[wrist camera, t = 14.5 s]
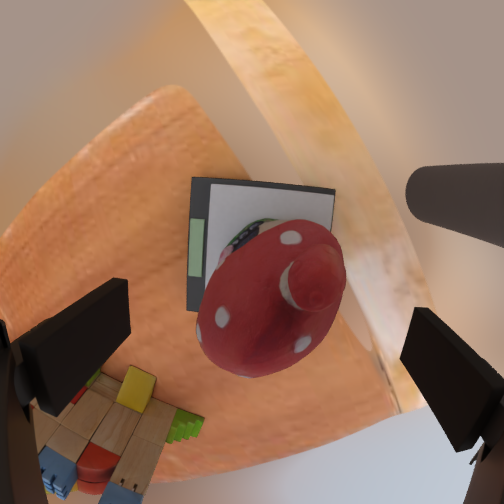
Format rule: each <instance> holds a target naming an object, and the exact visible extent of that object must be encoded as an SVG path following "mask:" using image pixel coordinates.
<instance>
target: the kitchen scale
mask: <svg viewBox="0 0 504 504" xmlns="http://www.w3.org/2000/svg"><path fill="white" fill-rule="evenodd" d="M335 192H336V190H335V189H328V188H319V187H311V186H302V185H293V184H283V183H273V182H262V181H250V180H237V179H222V178H206V177H192V182H191V197H190V214H189V234H188V259H187V309H186V310H187V311H194V312H199V308H200V305H201V302H202V299H203V296H204V292H205V289H206V287H207V284H208V282H209V279H210V277H211V276H212V274H213V272H214V270H215V269H216V267H217V266H218V261H219V257H220V254H221V252H222V250H223V249H224V248H225V247H226V246H227V245H228V243H229V242H230V241H231V240H232V239H233V238H234V237H235V236H236V235H237V234H238V233H239V232H240V231H241V230H242V229H244V228H245V227H246V226H247V225H248V224H250V223H252V222H254V221H256V220H260V219H264V218H271V219H278V220H289V221H290V220H295V219H305V220H309V221H312V222H315V223H317V224H320V225H322V226H324V227H325V228H326V229H328V230H329V231H330V232H331V228H332V219H333V210H334V201H335Z"/></svg>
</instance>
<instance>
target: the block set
mask: <svg viewBox="0 0 504 504" xmlns="http://www.w3.org/2000/svg"><path fill="white" fill-rule="evenodd" d="M100 369H101V367H100V368H99V369H98V371H97V372H96V373H95V374H94V375H93V376H92V377H91V379H90V380H89V381H88V382H87V383H86V384H85V385H84V387H83V388H82V389H81V390H80V391H79V392H78V393H77V395H76V396H75V397H74V398H73V399H72V400H71V402H70V403H69V404H68V405H67V406H66V407H65V409H64V410H63V411H62V412H61V413H60V414H59V416H58V417H57V418H56V417H54V416H52V415H50V414H48V413H45V412H43V411H41V410H40V408H39V405H38V403H37V400H36V397H35V398H34V399H33V400H32V401H31V402H30V405H31V407H32V410H33V420H34V429H35V438H36V445H37V452H38V458H39V464H40V469H41V474H42V479H43V483H44V488H45V492H46V494H54V493H56V494H57V497H59V498H60V499H62V500H65V499H66V497H67V496H68V494H69V493H70V492H73V491H77V490H79V491H80V492H83V493H86V494H92V495H97V494H102V497H101V499H100V501H99V503H98V504H142V501H143V498H144V495H145V494H146V491H147V489H148V486H149V483H150V481H151V478H152V475H153V473H154V470H155V467H156V465H157V462H158V459H159V457H160V454H161V452H162V449H163V447H164V444H165V442H167V443H169V444H172V443H173V440H176V441H178V442H180V441H181V439H182V438H184V439H187V440H188V439H189V437H190V436H192V437H197V436H198V434H199V431H200V429H201V427H202V424H203V422H204V418H203V417H200V416H197V415H194V414H192V413H189V412H186V411H183V410H181V409H177V408H176V407H174V406H172V405H169V404H167V403H164V402H162V401H159V400H157V399H155V398H152V397H151V395H152V392H153V388H154V384H155V381H156V377H155V376H153V375H151V374H148V373H146V372H144V371H142V370H140V369H138V368H136V367H133V366H129V369H128V371H127V374H126V376H125V378H124V381H123V383H121V382H119V381H117V380H115V379H113V378H111V377H109V376H107V375H105V374H103V373H100Z"/></svg>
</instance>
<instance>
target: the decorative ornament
mask: <svg viewBox="0 0 504 504" xmlns="http://www.w3.org/2000/svg"><path fill="white" fill-rule="evenodd" d="M345 285H346V270H345V266H344V261H343V254H342V250H341V247H340V245H339V243H338V241H337V239H336V238H335V237H334V235H333V234H332V233H331V232H330V231H329V230H328V229H326V228H325V227H324V226H322V225H320V224H317V223H315V222H312V221H309V220H305V219H295V220H290V221H289V220H278V219H271V218H264V219H260V220H256V221H254V222H252V223H250V224H248V225H247V226H246V227H245V228H244V229H242V230H241V231H240V232H239V233H238V234H237V235H236V236H235V237H234V238H233V239H232V240H231V241H230V242H229V243H228V245H227V246H226V247H225V248H224V249H223V250H222V252H221V254H220V257H219V261H218V266H217V267H216V269H215V270H214V272H213V274H212V276H211V277H210V279H209V282H208V284H207V287H206V289H205V292H204V296H203V299H202V302H201V305H200V308H199V313H198V317H197V323H196V334H197V338H198V340H199V343H200V346H201V348H202V350H203V352H204V353H205V355H206V356H207V357H208V358H209V360H211V361H212V362H213V363H214V364H216V365H217V366H219V367H220V368H222V369H224V370H227V371H229V372H231V373H233V374H236V375H238V376H241V377H245V378H256V377H261V376H265V375H269V374H272V373H275V372H278V371H281V370H283V369H285V368H288V367H290V366H292V365H293V364H295V363H297V362H298V361H300V360H301V359H302V358H304V357H305V356H306V355H308V354H309V353H310V352H311V351H312V350H314V349H315V348H316V347H317V346H318V345H319V344H320V343H321V341H322V340H323V339H324V337H325V336H326V335H327V333H328V331H329V329H330V327H331V325H332V323H333V321H334V319H335V316H336V314H337V311H338V309H339V305H340V302H341V299H342V294H343V291H344V289H345Z"/></svg>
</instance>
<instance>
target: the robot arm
mask: <svg viewBox="0 0 504 504" xmlns="http://www.w3.org/2000/svg"><path fill="white" fill-rule="evenodd" d="M130 334H131V327H130V314H129V298H128V280H127V279H120V278H112V279H110V280H109V281H107V282H106V283H104V284H102V285H101V286H99V287H98V288H96V289H95V290H93V291H91V292H90V293H88V294H87V295H85V296H84V297H82V298H81V299H79V300H78V301H76V302H75V303H73V304H72V305H70V306H68V307H67V308H65V309H64V310H62V311H61V312H59V313H58V314H56V315H55V316H54V317H51V318H48V319H45V320H44V321H42V322H41V323H39V324H38V325H37V327H36V326H35V327H33V328H32V329H30V331H28V332H26V333H25V334H23V335H22V336H20V337H19V338H17V339H16V340H15V341H13V342H12V343H10V341H9V337H8V333H7V329H6V325H5V322H4V321H3V320H1V319H0V504H48V500H47V496H46V492H45V488H44V483H43V479H42V474H41V469H40V464H39V458H38V452H37V445H36V438H35V429H34V420H33V410H32V407H31V405H30V402H31V401H32V400H33V399H34V398H35V397H36V400H37V403H38V405H39V408H40V410H41V411H43V412H45V413H48V414H50V415H52V416H54V417H56V418H57V417H58V416H59V414H60V413H61V412H62V411H63V410H64V409H65V407H66V406H67V405H68V404H69V403H70V402H71V400H72V399H73V398H74V397H75V396H76V395H77V393H78V392H79V391H80V390H81V389H82V388H83V387H84V385H85V384H86V383H87V382H88V381H89V380H90V379H91V377H92V376H93V375H94V374H95V373H96V372H97V371H98V369H99V368H100V367H101V366H102V365H103V364H104V363H105V362H106V360H107V359H108V358H109V357H110V356H111V355H112V354H113V353H114V352H115V350H116V349H117V348H118V347H119V346H120V345H121V344H122V343H123V342H124V340H125V339H126V338H127V337H128V336H129V335H130ZM400 360H401V362H402V363H403V365H404V366H405V368H406V369H407V371H408V372H409V374H410V376H411V377H412V379H413V380H414V382H415V384H416V385H417V387H418V388H419V390H420V392H421V393H422V395H423V397H424V398H425V400H426V401H427V403H428V405H429V406H430V408H431V410H432V411H433V413H434V415H435V416H436V418H437V420H438V422H439V423H440V425H441V427H442V428H443V430H444V432H445V434H446V435H447V437H448V439H449V441H450V443H451V444H452V446H453V448H454V450H455V451H456V452H461V451H465V450H468V449H471V448H473V446H474V445H475V443H476V442H477V440H478V439H479V437H480V436H481V437H482V439H483V440H484V443H483V444H482V446H481V447H480V449H479V450H478V452H477V453H476V454H475V456H474V457H473V459H472V460H471V461H470V463H469V464H470V465H472V463H473V462H474V461H475V460H477V461H476V464H475V468H474V472H473V475H472V478H471V482H470V485H469V488H468V491H467V494H466V497H465V500H464V502H463V504H504V379H503V378H502V376H501V375H500V374H499V373H497V371H496V370H495V369H494V368H492V366H491V365H490V364H489V363H488V362H487V361H486V360H484V359H483V358H481V357H480V356H479V355H478V354H477V353H476V352H475V351H474V350H473V349H472V348H471V347H470V346H469V345H468V344H467V343H466V342H465V341H464V340H462V339H461V338H460V337H459V336H458V335H457V334H456V333H455V332H454V331H453V330H452V329H451V328H450V327H449V326H447V324H445V323H444V322H443V321H442V320H441V319H440V318H439V317H438V316H437V315H436V314H434V313H433V312H432V311H431V310H430V309H429V308H425V307H414V311H413V315H412V319H411V322H410V326H409V330H408V333H407V336H406V340H405V343H404V346H403V349H402V353H401V356H400Z"/></svg>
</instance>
